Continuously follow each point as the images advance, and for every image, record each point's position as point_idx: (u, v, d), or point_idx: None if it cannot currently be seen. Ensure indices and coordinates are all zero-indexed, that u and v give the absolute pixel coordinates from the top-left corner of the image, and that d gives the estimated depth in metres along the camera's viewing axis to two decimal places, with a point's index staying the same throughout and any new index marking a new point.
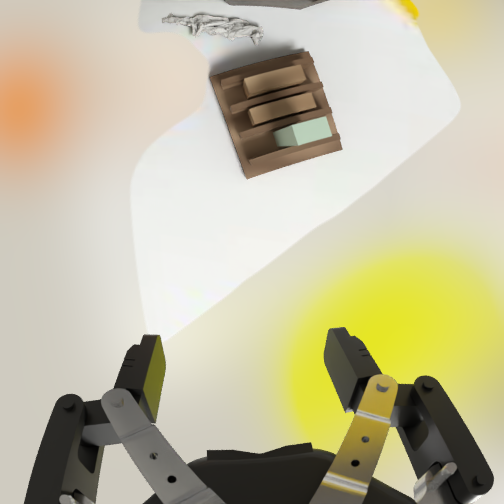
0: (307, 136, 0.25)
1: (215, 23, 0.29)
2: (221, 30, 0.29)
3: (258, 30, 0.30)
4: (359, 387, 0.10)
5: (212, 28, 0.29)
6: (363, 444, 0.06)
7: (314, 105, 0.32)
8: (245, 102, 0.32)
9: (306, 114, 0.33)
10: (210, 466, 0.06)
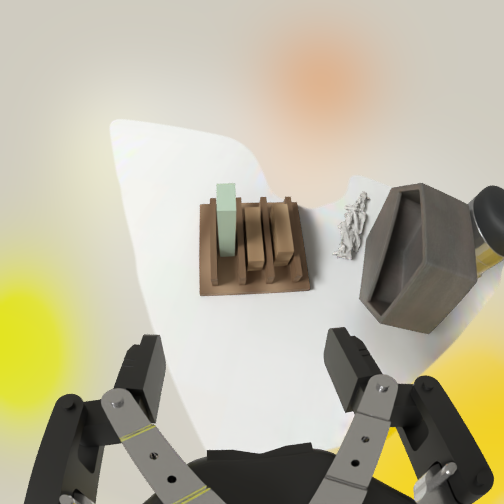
0: (222, 191, 0.30)
1: (355, 220, 0.43)
2: (348, 221, 0.43)
3: (347, 250, 0.41)
4: (359, 387, 0.10)
5: (350, 215, 0.43)
6: (363, 443, 0.06)
7: (250, 259, 0.37)
8: (266, 208, 0.41)
9: (243, 252, 0.38)
10: (210, 466, 0.06)
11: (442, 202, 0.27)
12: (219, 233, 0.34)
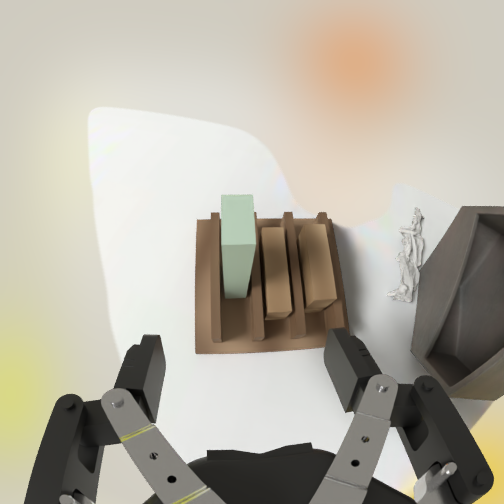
0: (230, 209, 0.18)
1: (414, 248, 0.30)
2: (407, 251, 0.30)
3: (408, 291, 0.28)
4: (359, 387, 0.10)
5: (409, 242, 0.30)
6: (363, 444, 0.06)
7: (271, 310, 0.24)
8: (292, 228, 0.28)
9: (259, 298, 0.25)
10: (210, 466, 0.06)
11: None
12: (225, 274, 0.21)
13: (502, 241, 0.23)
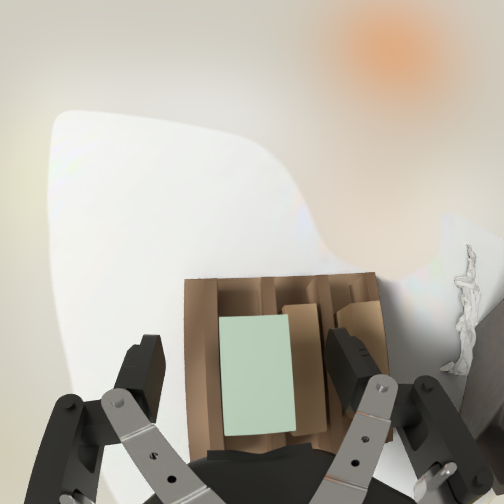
0: (241, 354, 0.08)
1: (473, 306, 0.20)
2: (468, 313, 0.20)
3: None
4: (359, 387, 0.10)
5: (469, 300, 0.20)
6: (363, 444, 0.06)
7: (297, 433, 0.14)
8: (328, 302, 0.18)
9: None
10: (210, 466, 0.06)
11: None
12: None
13: None
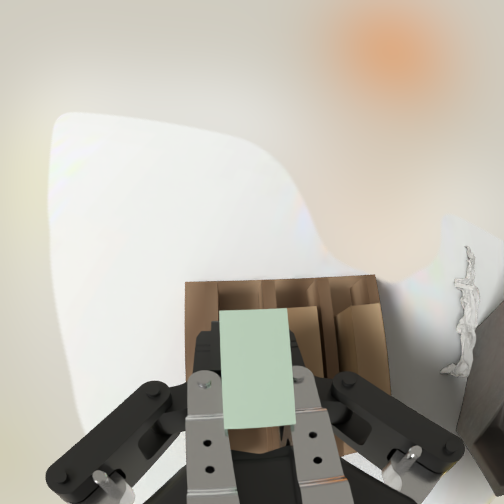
0: (240, 347, 0.08)
1: (473, 308, 0.21)
2: (468, 315, 0.20)
3: None
4: None
5: (469, 302, 0.20)
6: (313, 439, 0.07)
7: None
8: (329, 305, 0.18)
9: None
10: None
11: None
12: None
13: None
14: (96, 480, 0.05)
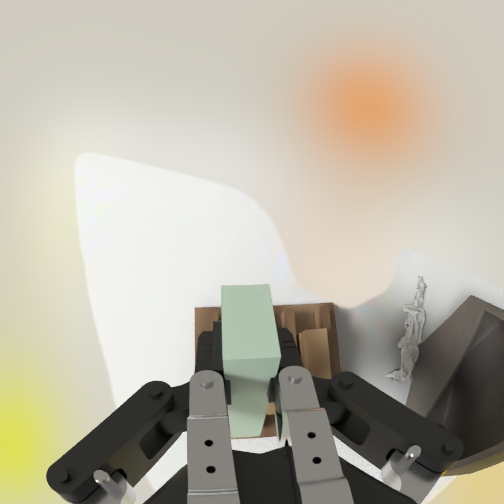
0: (236, 306, 0.11)
1: (416, 328, 0.30)
2: (409, 334, 0.29)
3: (406, 375, 0.27)
4: (276, 377, 0.11)
5: (411, 324, 0.29)
6: (312, 440, 0.07)
7: (270, 412, 0.23)
8: (293, 327, 0.27)
9: None
10: None
11: None
12: (230, 406, 0.13)
13: None
14: (97, 480, 0.05)
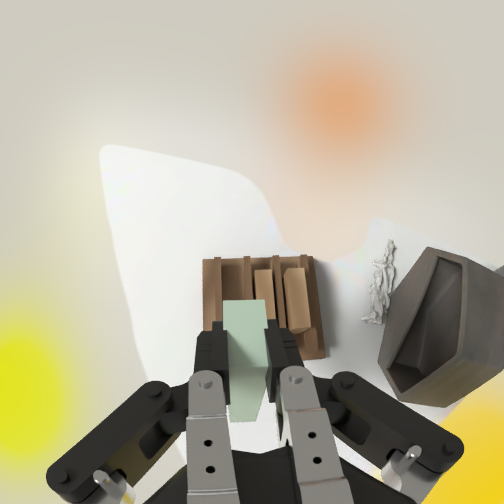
0: (235, 319, 0.13)
1: (385, 279, 0.38)
2: (378, 282, 0.37)
3: (377, 316, 0.36)
4: (277, 377, 0.11)
5: (380, 274, 0.38)
6: (312, 439, 0.07)
7: None
8: (279, 269, 0.35)
9: None
10: None
11: (484, 280, 0.22)
12: None
13: None
14: (97, 480, 0.05)
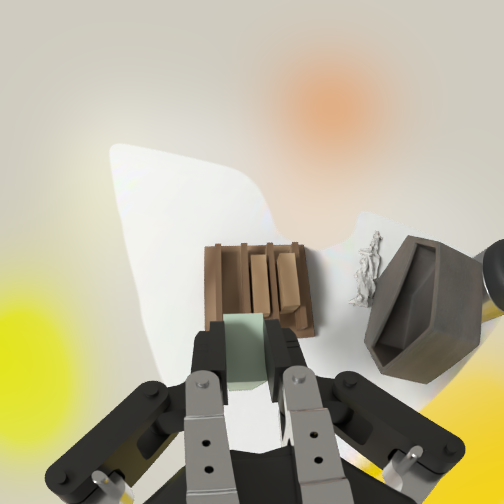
0: (235, 335, 0.14)
1: (370, 266, 0.43)
2: (364, 269, 0.42)
3: (363, 299, 0.40)
4: (280, 377, 0.11)
5: (366, 262, 0.42)
6: (314, 439, 0.07)
7: (256, 312, 0.36)
8: (272, 255, 0.40)
9: (248, 304, 0.37)
10: None
11: (457, 263, 0.26)
12: (229, 387, 0.17)
13: None
14: (95, 480, 0.05)
